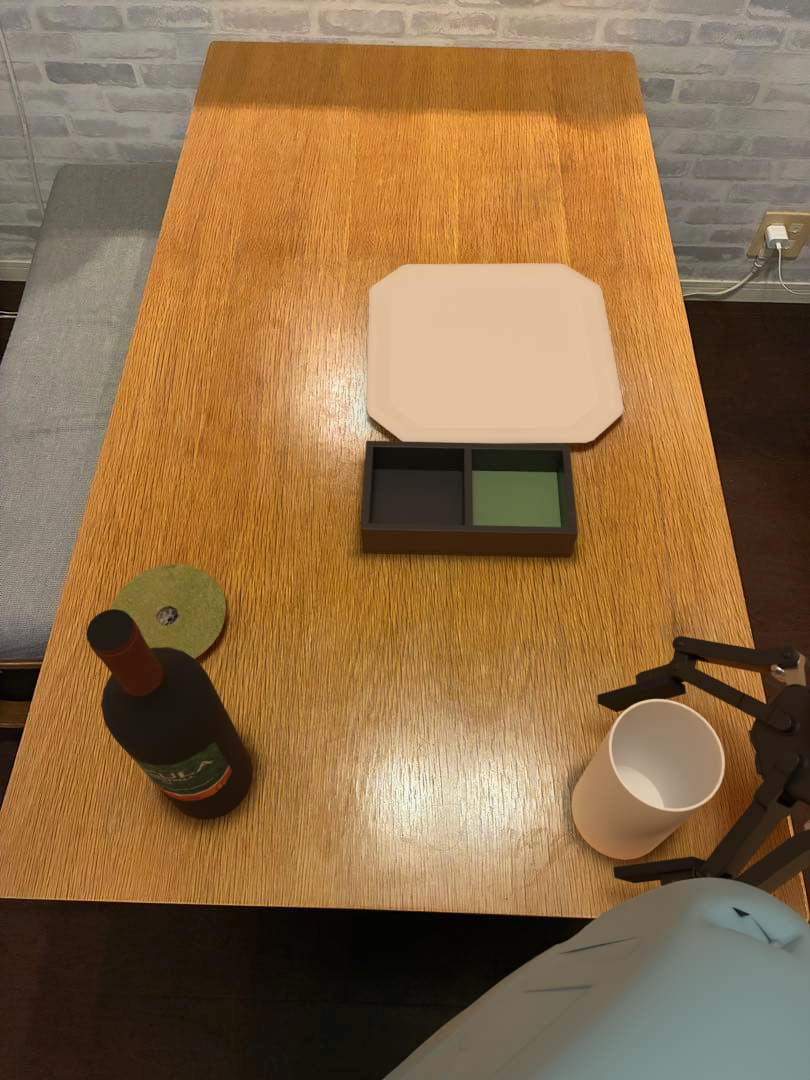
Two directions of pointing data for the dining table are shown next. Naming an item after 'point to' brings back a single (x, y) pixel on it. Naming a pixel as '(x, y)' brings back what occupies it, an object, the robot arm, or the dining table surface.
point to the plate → (491, 355)
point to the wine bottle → (170, 719)
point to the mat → (175, 607)
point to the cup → (647, 778)
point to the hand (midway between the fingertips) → (614, 785)
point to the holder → (468, 499)
